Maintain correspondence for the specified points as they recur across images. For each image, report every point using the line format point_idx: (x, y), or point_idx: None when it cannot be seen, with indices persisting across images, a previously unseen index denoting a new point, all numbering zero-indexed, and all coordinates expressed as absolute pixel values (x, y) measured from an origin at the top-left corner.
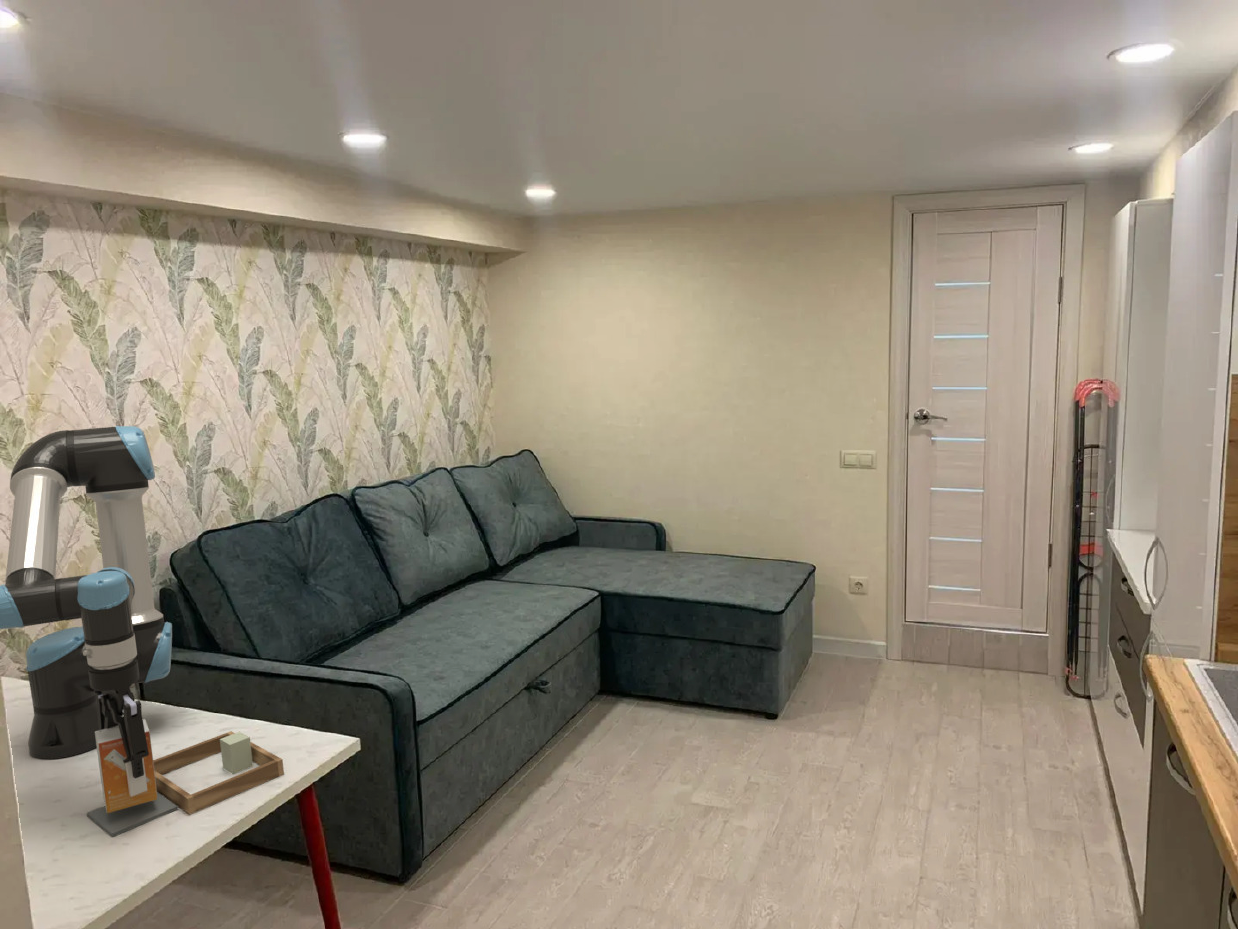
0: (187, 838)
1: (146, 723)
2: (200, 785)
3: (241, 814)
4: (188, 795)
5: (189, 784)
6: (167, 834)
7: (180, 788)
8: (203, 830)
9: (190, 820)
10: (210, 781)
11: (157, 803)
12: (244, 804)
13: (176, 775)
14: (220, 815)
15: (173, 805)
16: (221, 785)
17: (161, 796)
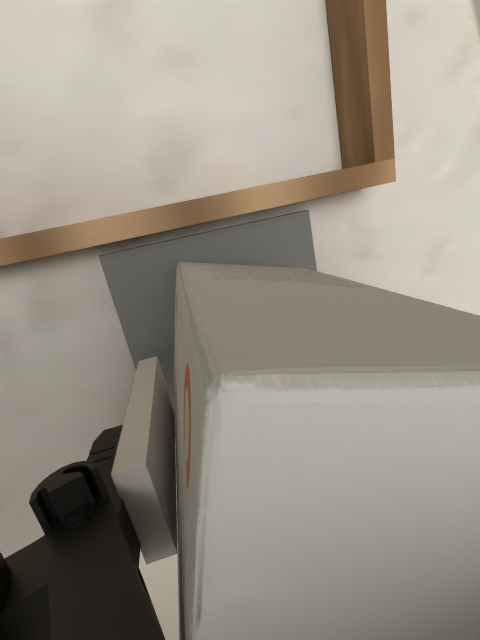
0: (471, 228)
1: (430, 382)
2: (176, 88)
3: (474, 49)
4: (376, 171)
5: (138, 122)
6: (415, 267)
7: (300, 180)
8: (468, 180)
9: (392, 195)
10: (166, 40)
11: (244, 259)
12: (426, 10)
13: (13, 141)
14: (431, 109)
15: (294, 219)
16: (386, 29)
17: (202, 238)
